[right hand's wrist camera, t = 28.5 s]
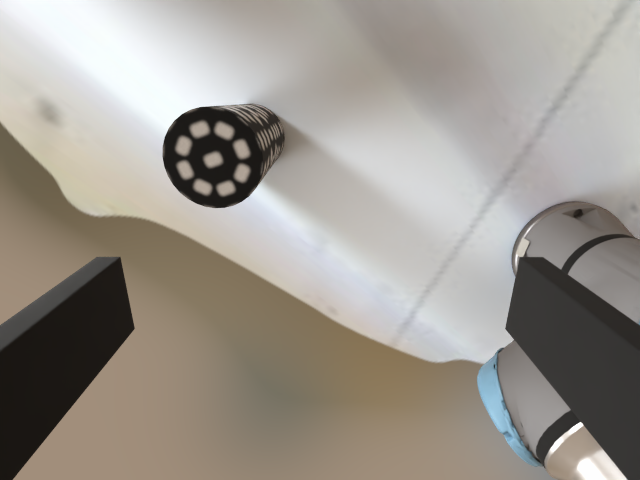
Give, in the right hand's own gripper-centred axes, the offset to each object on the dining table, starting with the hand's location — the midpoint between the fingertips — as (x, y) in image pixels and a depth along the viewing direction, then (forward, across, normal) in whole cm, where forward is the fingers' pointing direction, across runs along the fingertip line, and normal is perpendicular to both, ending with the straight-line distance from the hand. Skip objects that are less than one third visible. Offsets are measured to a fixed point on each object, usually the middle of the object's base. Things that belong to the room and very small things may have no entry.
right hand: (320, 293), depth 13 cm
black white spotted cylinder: (+30, +9, -1) cm, 32 cm away
